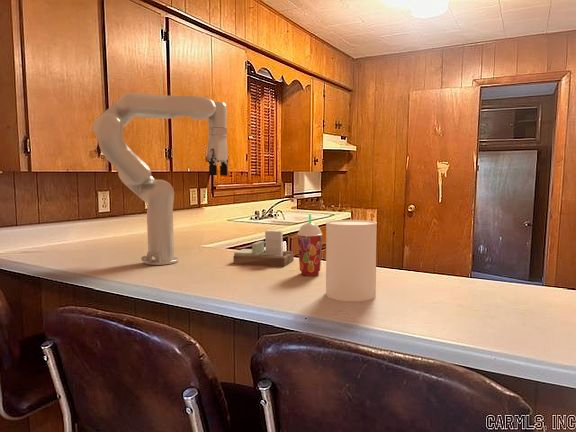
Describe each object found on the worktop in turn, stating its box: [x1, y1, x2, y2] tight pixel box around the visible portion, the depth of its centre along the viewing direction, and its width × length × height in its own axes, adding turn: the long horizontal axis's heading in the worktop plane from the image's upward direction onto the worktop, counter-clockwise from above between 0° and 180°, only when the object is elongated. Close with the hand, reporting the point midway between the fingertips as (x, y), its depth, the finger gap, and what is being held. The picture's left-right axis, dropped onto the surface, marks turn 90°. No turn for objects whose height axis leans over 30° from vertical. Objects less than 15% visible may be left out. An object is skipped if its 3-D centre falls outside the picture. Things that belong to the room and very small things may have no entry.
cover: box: [233, 240, 265, 255], centre depth 164 cm, size 9×9×4 cm
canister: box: [325, 219, 378, 303], centre depth 117 cm, size 14×14×20 cm
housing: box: [232, 249, 295, 268], centre depth 163 cm, size 12×20×4 cm, turn 73°
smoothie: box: [296, 213, 323, 277], centre depth 142 cm, size 8×8×20 cm
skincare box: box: [264, 229, 284, 256], centre depth 161 cm, size 6×4×12 cm
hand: (218, 175), depth 176 cm, fingers open, 9 cm apart
